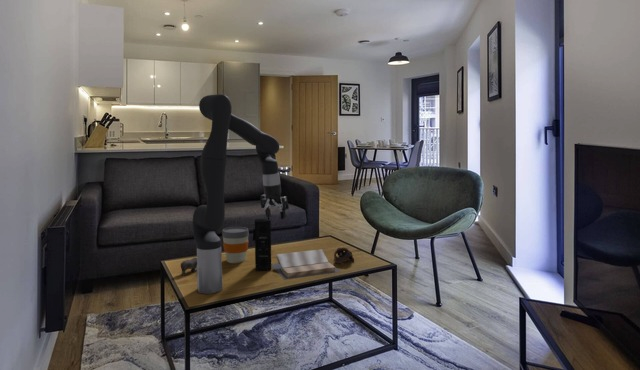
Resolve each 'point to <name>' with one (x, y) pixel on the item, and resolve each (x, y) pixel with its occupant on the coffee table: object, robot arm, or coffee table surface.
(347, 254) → the pottery mug
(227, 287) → the coffee table surface
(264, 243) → the portable radio
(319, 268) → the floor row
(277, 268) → the underlay mat
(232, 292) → the coffee table surface
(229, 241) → the reusable coffee cup
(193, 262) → the rhino figurine
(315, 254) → the plank
